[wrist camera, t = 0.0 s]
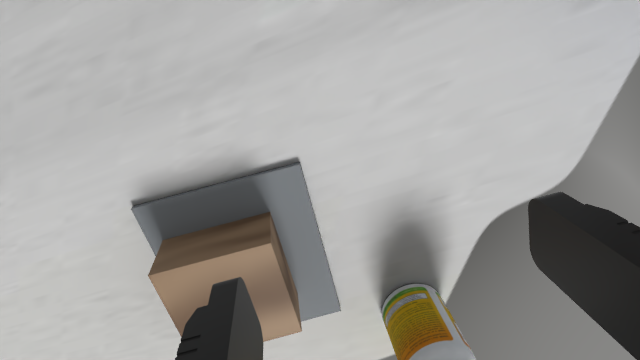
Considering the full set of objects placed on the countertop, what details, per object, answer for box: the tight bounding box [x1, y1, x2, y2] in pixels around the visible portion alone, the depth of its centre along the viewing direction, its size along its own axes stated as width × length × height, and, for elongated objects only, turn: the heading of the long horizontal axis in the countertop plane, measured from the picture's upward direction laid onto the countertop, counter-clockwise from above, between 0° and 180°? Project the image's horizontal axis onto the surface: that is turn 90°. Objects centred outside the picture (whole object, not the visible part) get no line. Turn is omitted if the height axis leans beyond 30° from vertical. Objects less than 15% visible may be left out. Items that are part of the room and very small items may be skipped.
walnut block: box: [148, 212, 302, 342], centre depth 29 cm, size 8×8×4 cm
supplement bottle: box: [382, 284, 476, 360], centre depth 31 cm, size 5×5×10 cm
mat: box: [131, 162, 341, 321], centre depth 31 cm, size 14×12×1 cm
